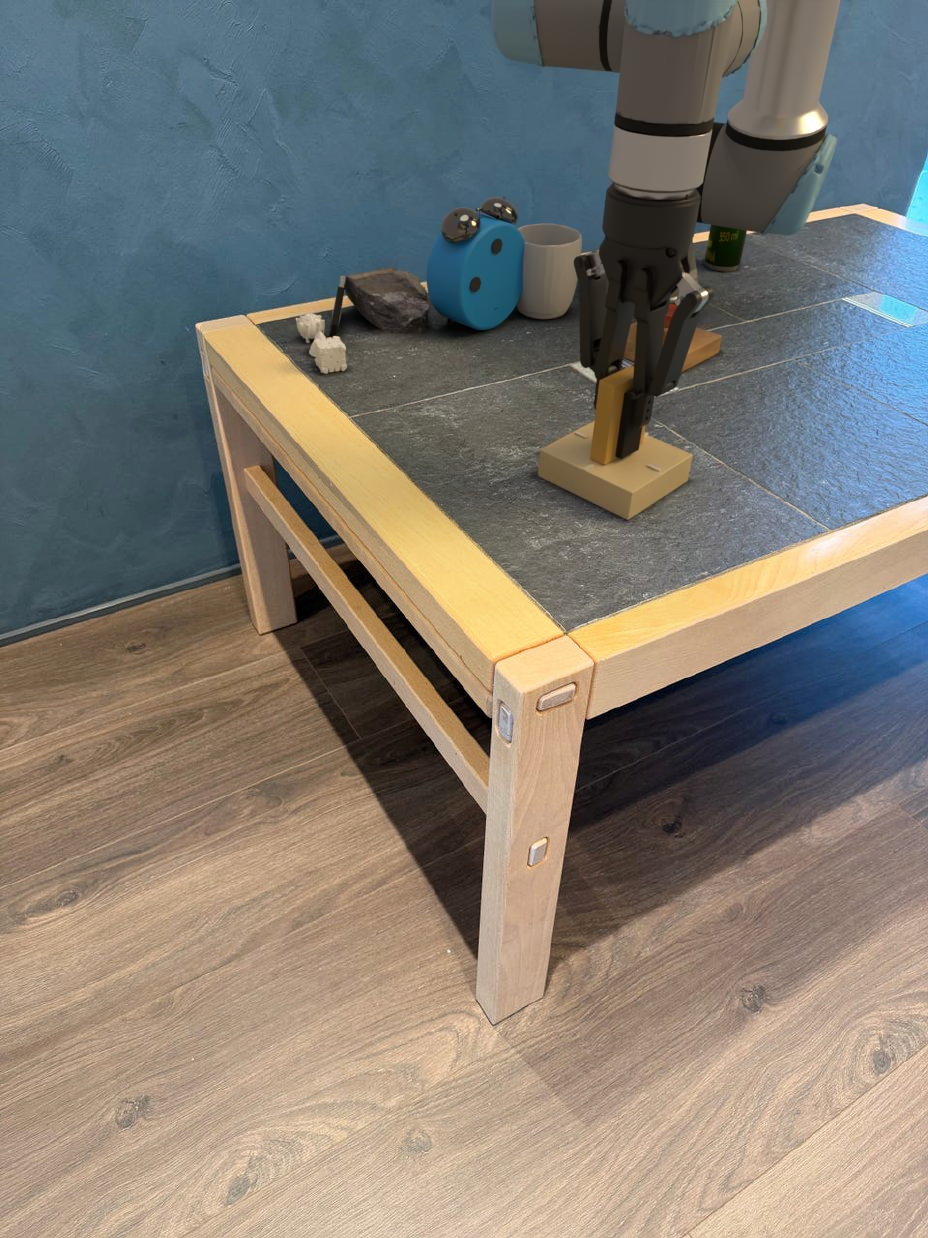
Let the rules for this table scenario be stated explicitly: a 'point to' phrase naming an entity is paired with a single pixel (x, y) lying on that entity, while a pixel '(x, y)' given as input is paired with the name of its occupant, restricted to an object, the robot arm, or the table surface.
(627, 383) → the lock knob
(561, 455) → the panel
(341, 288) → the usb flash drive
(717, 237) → the beer can
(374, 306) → the rock
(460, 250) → the alarm clock
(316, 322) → the game pieces
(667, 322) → the button
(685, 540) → the table surface
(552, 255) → the mug
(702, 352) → the button block
